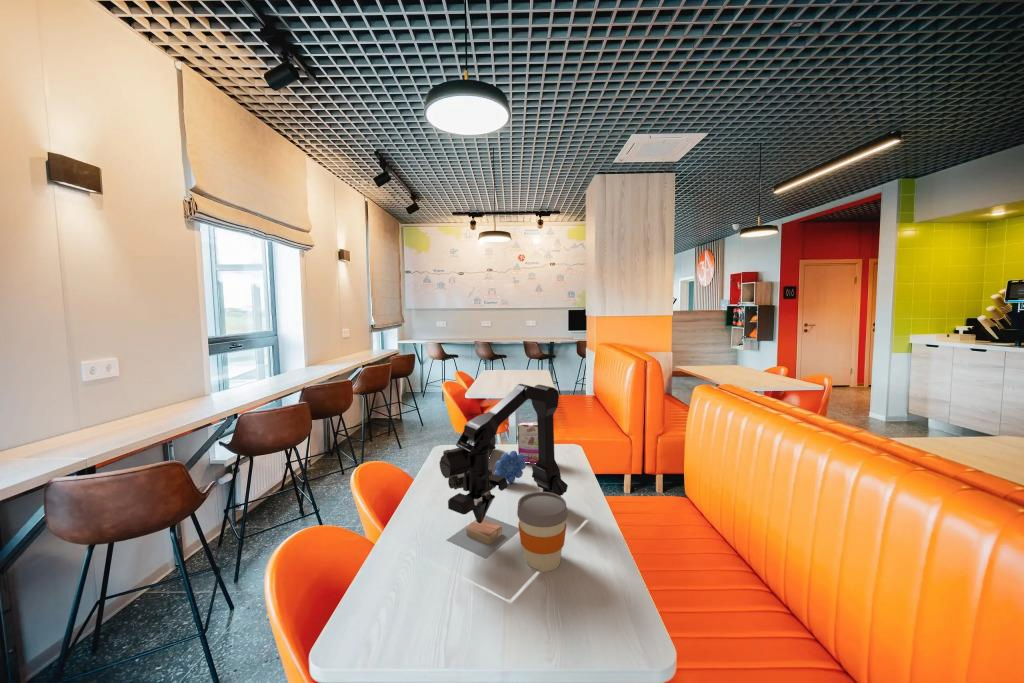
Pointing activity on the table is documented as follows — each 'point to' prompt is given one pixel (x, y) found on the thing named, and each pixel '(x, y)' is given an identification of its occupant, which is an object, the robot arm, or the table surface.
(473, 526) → the maple tile
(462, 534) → the slate mat
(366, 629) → the table surface
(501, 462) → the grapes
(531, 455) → the candy bar box
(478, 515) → the robot arm
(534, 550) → the reusable coffee cup
